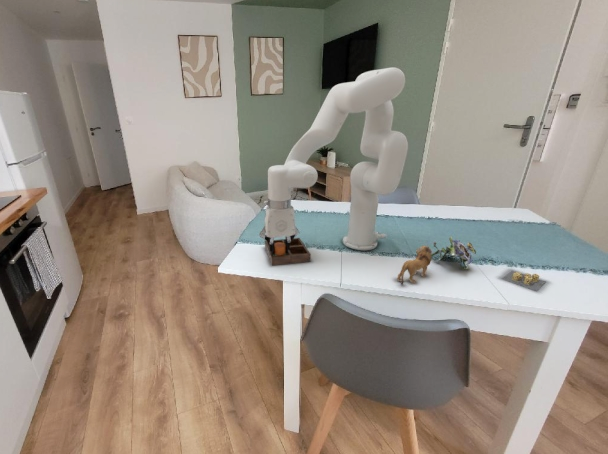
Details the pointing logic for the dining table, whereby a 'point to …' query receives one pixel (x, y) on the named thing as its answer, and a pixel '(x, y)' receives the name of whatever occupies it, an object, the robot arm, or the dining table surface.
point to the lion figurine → (416, 264)
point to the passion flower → (457, 252)
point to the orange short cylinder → (279, 248)
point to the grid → (289, 253)
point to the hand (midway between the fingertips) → (279, 251)
